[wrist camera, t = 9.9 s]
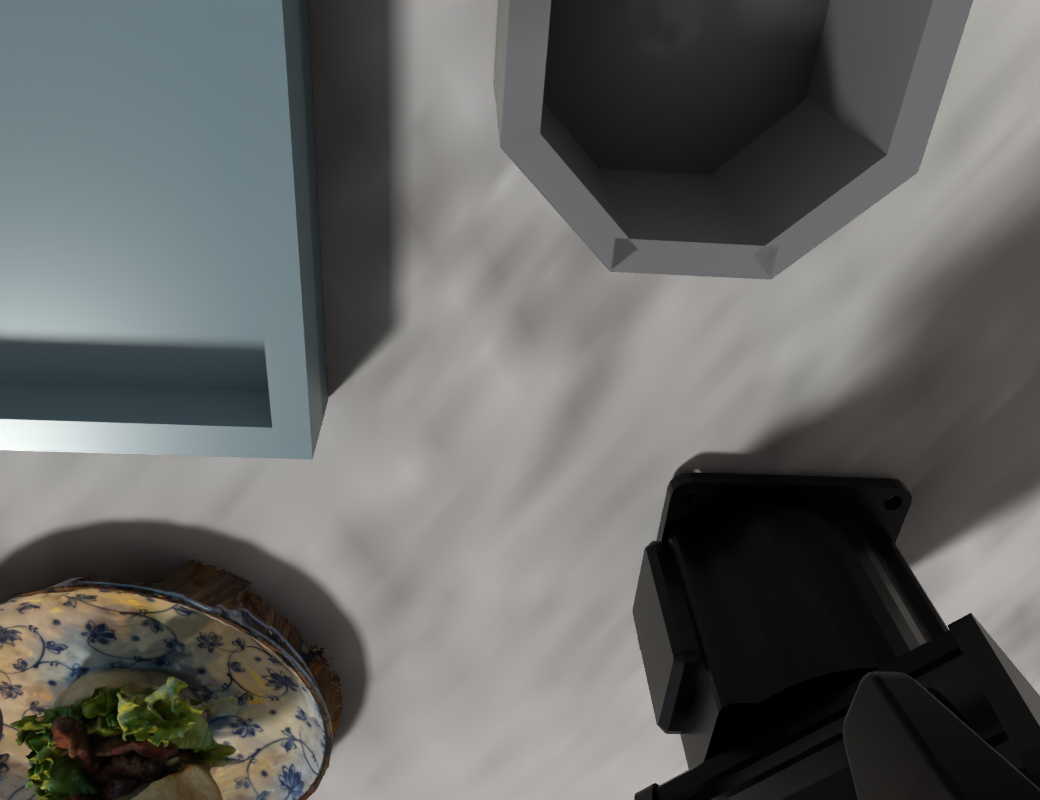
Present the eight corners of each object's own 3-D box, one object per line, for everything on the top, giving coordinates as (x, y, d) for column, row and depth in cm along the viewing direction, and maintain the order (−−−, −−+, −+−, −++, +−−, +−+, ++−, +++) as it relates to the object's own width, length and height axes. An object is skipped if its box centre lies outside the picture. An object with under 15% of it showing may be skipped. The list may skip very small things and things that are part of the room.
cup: (892, -173, 15) (1032, -185, 11) (798, 199, 19) (881, 284, 15) (509, -208, 15) (523, -233, 11) (488, 181, 18) (493, 265, 14)
